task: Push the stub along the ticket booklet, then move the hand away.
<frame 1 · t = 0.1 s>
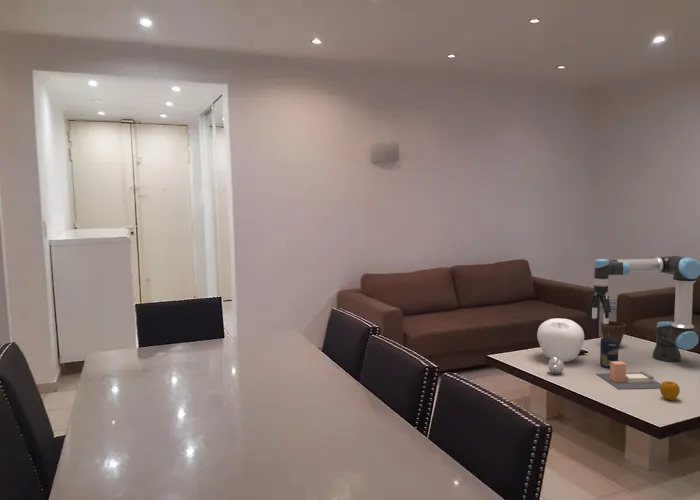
hand: (600, 321, 306), 28 cm above the table, fingers open, 13 cm apart
canister: (608, 366, 310), on the table
slate mat: (630, 381, 285), on the table
ticket booklet: (637, 380, 285), resting on slate mat
silver round lump: (555, 373, 299), on the table
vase: (559, 360, 324), on the table
plant pot: (612, 347, 350), on the table
apple: (669, 399, 259), on the table
stub: (617, 371, 284), point 5 cm above the table, slide at 0.0 cm
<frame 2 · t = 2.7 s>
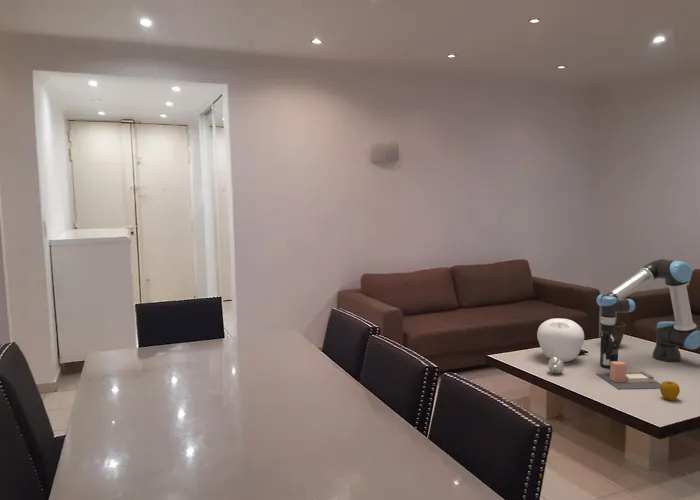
hand: (606, 364, 296), 6 cm above the table, fingers closed
nothing on the table moved.
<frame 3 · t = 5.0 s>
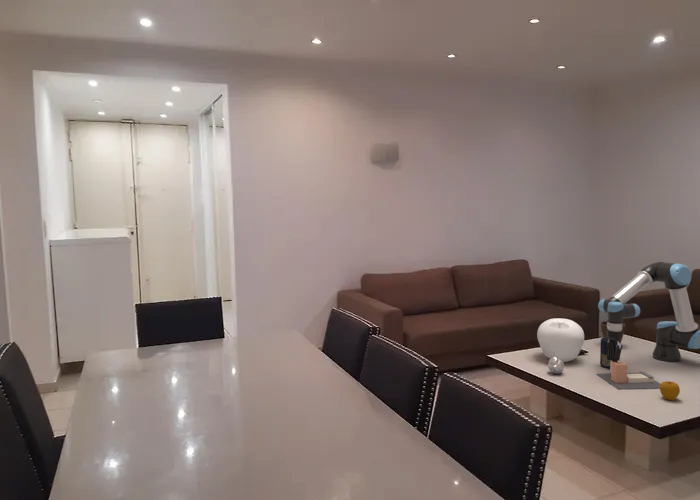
hand: (613, 371, 289), 4 cm above the table, fingers closed
stub: (619, 372, 283), point 5 cm above the table, slide at 1.1 cm, touching gripper
everything else where it was.
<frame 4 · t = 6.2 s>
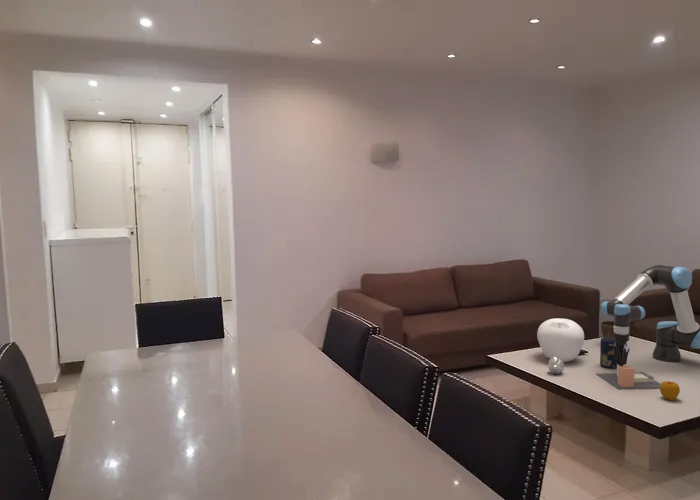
hand: (619, 375, 282), 4 cm above the table, fingers closed
stub: (625, 376, 276), point 5 cm above the table, slide at 7.9 cm, touching gripper
everything else where it was.
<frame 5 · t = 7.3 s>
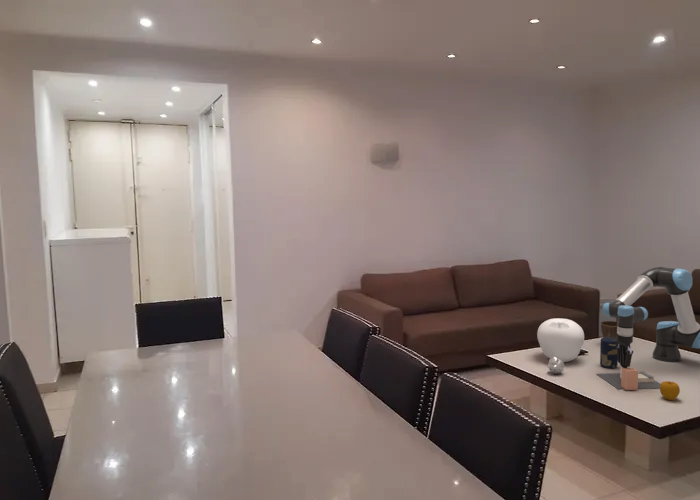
hand: (623, 377, 278), 4 cm above the table, fingers closed
stub: (629, 378, 273), point 6 cm above the table, slide at 11.5 cm, touching gripper
everything else where it was.
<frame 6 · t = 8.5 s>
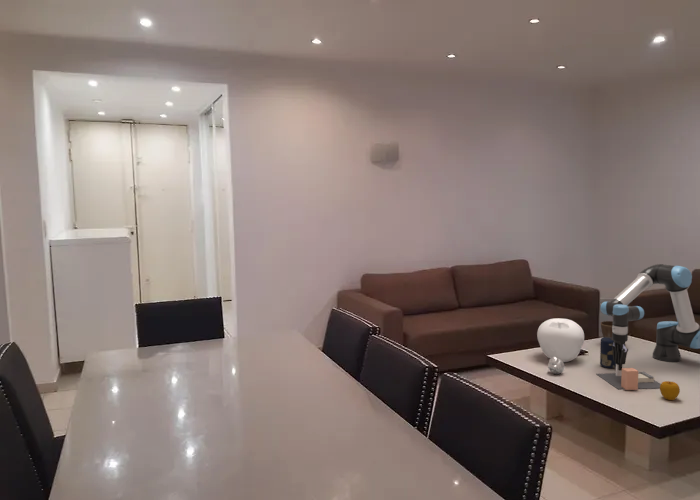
hand: (618, 375, 284), 4 cm above the table, fingers closed
stub: (629, 378, 273), point 6 cm above the table, slide at 11.6 cm
everything else where it was.
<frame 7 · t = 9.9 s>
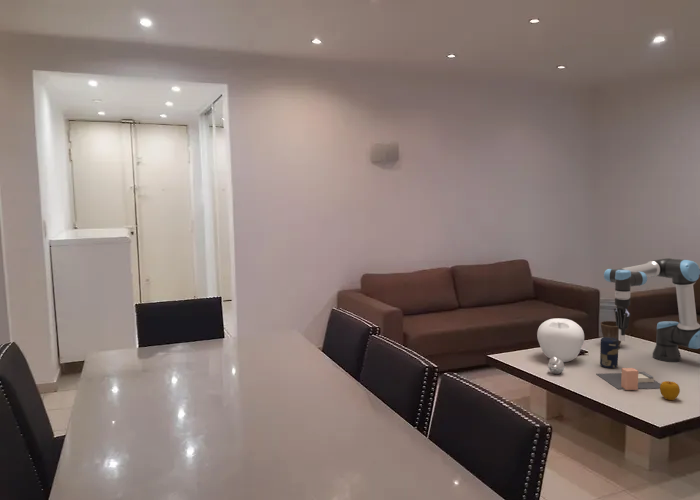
hand: (621, 340, 285), 22 cm above the table, fingers closed
nothing on the table moved.
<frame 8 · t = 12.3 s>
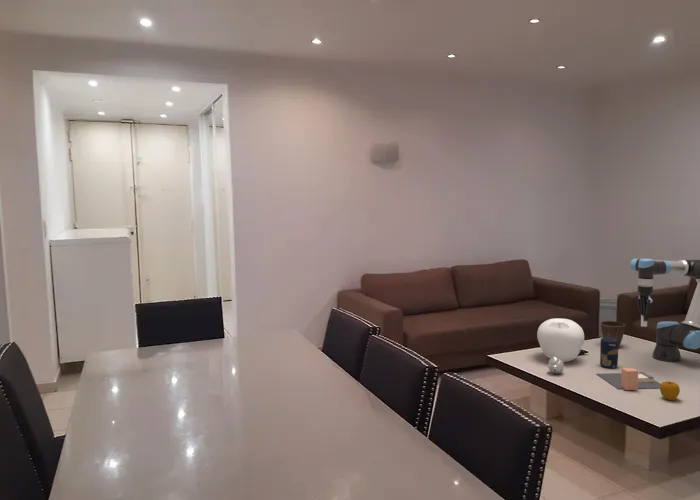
hand: (643, 326, 298), 26 cm above the table, fingers closed
nothing on the table moved.
at the end: stub slide at 11.6 cm; the gripper is holding nothing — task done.
